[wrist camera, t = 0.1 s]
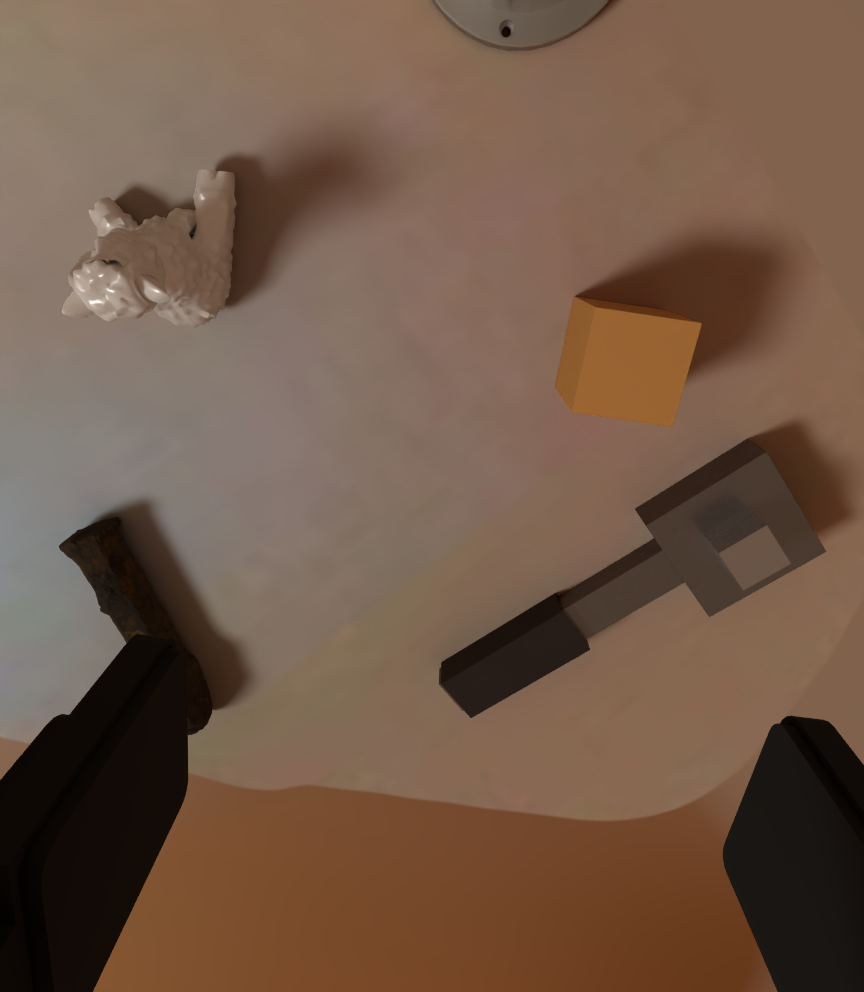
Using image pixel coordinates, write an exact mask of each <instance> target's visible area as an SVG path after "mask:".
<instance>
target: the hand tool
mask: <svg viewBox="0 0 864 992" xmlns="http://www.w3.org/2000/svg"><path fill="white" fill-rule="evenodd" d="M120 523H121V520H120V519H119V518H118V517H115V518H112V519H109V520H104V521H100V522H98V523H95V524H92V525H90V526H87V527H85V528H84V529H81V530H77V531H76V533H74V534H73V535H71V536H70V537H69V538H68V539H67V540H65V541H64V542H63V543H61V544H60V546H59V548H60V550H61V551H62V552H64V553H65V554H66V556H68V557H69V558H70V559H73V561H74V562H75V563H76V564H77V565H78V566H79V567H80V569H81V570H82V572H83V574H84V575H85V577H86V579H87V580H88V582H89V583H90V584H91V586H92V588H93V589H94V591H95V593H96V596H97V599H98V604H99V605H100V607H101V608H100V611H101V612H103V613H105V614H107V615H109V616H110V617H111V619H112V621H113V622H114V624H115V625H116V627H117V628H118V630H119V631H120V633H121V635H122V636H123V638H124V640H125V641H126V643H127V642H128V641H129V640H130V639H131V638H132V637H133V636H134V635H136V634H143V635H151V636H158V637H166V638H172V639H174V640H175V643H176V648H178V649H184V648H183V646H182V644H181V642H180V641H179V638H178V636H177V634H176V633H175V631H174V629H173V627H172V625H171V623H170V620H169V618H168V616H167V614H166V613H165V612H164V610H163V609H162V608H161V606H160V604H159V602H158V601H157V599H156V597H155V595H154V593H153V591H152V590H151V587H150V585H149V583H148V581H147V580H146V578H145V576H144V573H143V571H142V570H141V569H140V568H139V566H138V565H137V563H136V562H135V560H134V557H133V556H132V554H131V553H130V551H129V550H128V548H127V546H126V545H125V543H124V541H123V539H122V537H121V535H120V531H119V526H120ZM184 650H185V649H184ZM186 655H187V724H188V735H190V734H191V735H192V734H195V733H197V732H198V731H199V730H201V729H203V728H204V727H205V726H206V725H207V723H208V721H209V719H210V716H211V714H212V703H211V699H210V695H209V691H208V687H207V684H206V681H205V680H204V678H203V675H202V672H201V669H200V666H199V663H198V661H197V659H196V657H195V656H193V655H188V654H187V653H186Z"/></svg>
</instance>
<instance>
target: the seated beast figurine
mask: <svg viewBox="0 0 864 992" xmlns="http://www.w3.org/2000/svg"><path fill="white" fill-rule="evenodd" d="M234 192H235V177H234V173H233V172H227V171H218V172H217V171H213V170H199V172H198V175H197V179H196V186H195V193H194V194H193V199H194V205H195V208H196V209H195V210H191V209H181V208H175V209H174V210H173V211H171V212H169V214H168V216H167V218H165V217H159V216H158V215H155V216H153V217H152V218H151V219H144V220H143V223H142V224H140V225H139V226H138V224H137V222H136V221H135V220H133V219H132V216H131V215H130V214H126V213H124V212H123V211H122V209H121V208H120V207H119V206H118V205H117V204H116V203H115V202H114V201H113V200H112V199H111V198H102V199H100V200H99V201H97V202H96V203H95V209H90V210H89V215H90V217H91V220H92V221H93V222H94V224H95V225H96V226H97V230H98V232H97V235H98V237H97V238H96V240H95V242H94V243H95V248H96V249H94V250H92V251H91V252H87V253H85V254H84V255H83V256H81V257H80V260H79V262H78V263H77V264H76V265H75V266H74V268H73V269H72V270H71V271H70V272H69V274H68V278H69V284H70V285H71V287H73V290H74V291H73V292H72V293H71V294H70V296H69V297H68V298H67V299H66V301H65V303H64V305H63V308H62V313H63V314H65V315H67V316H72V317H79V318H83V317H88V316H90V315H92V314H93V313H95V314H96V315H98V316H99V317H101V318H103V319H104V320H105V321H108V322H112V321H114V320H115V319H117V318H136V319H138V318H140V317H141V316H142V315H143V314H144V313H146V312H150V311H151V310H155V311H156V312H157V314H159V316H160V317H163V318H167V319H168V320H169V321H171V322H172V323H173V324H174V325H176V326H179V325H190V326H193V327H197V326H198V325H199V324H205V323H207V322H209V321H210V320H211V319H213V318H216V316H217V313H218V312H219V310H222V309H223V308H224V307H225V303H226V298H228V297H229V293H230V291H229V289H230V288H231V284H230V282H231V280H232V279H231V275H230V272H231V271H232V258H233V256H232V254H231V251H232V249H231V248H232V247H233V237H234V235H233V230H234V228H235V218H236V216H235V214H234V209H235V207H236V200H235V197H234ZM193 234H194V236H193V238H192V239H191V237H190V235H193Z"/></svg>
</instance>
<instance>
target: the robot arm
mask: <svg viewBox="0 0 864 992" xmlns="http://www.w3.org/2000/svg"><path fill="white" fill-rule="evenodd" d="M432 1H433V3H434V5H435V6H436V7H437V9H438V10H439V11H440V12H441V13H442V14H443V15H444V17H445V18H446V19H447V20H448V21H449V22H450V23H451V24H452V25H453V26H454V27H456V28H457V29H458V30H460V31H461V32H462V33H464V34H465V35H466V36H468V37H469V38H471V39H473V40H476V41H478V42H480V43H482V44H484V45H486V46H489V47H494V48H498V49H503V50H508V51H524V50H533V49H538V48H542V47H546V46H550V45H552V44H555V43H557V42H559V41H561V40H563V39H565V38H567V37H569V36H571V35H573V34H574V33H575V32H577V31H578V30H579V29H581V28H582V27H583V26H585V25H586V24H588V23H589V22H590V21H591V20H592V19H593V18H594V17H595V16H596V15H597V13H598V12H599V11H600V10H601V9H602V8H603V7H604V6H605V5H606V4H607V2H608V1H609V0H432ZM505 28H507V29H509V31H510V36H509V37H503V36H502V34H501V31H502V30H503V29H505ZM187 785H188V724H187V655H186V651H185V650H184V649H178V648H176V643H175V640H174V639H172V638H166V637H158V636H151V635H143V634H136V635H134V636H133V637H132V638H131V639H130V640H129V641H128V642H127V644H126V645H125V646H124V647H123V649H122V650H121V651H120V652H119V654H118V655H117V656H116V657H115V659H114V660H113V661H112V662H111V664H110V665H109V666H108V667H107V669H106V670H105V671H104V672H103V674H102V675H101V676H100V677H99V678H98V680H97V681H96V682H95V683H94V685H93V686H92V687H91V688H90V690H89V691H88V692H87V693H86V695H85V696H84V697H83V698H82V700H81V701H80V702H79V703H78V705H77V706H76V707H75V708H74V710H73V711H72V712H71V713H70V715H65V714H61V715H58V716H56V717H54V718H53V719H52V720H51V721H50V722H49V723H48V724H47V725H46V726H45V727H44V728H43V730H42V731H41V732H40V733H39V734H38V736H37V737H36V738H35V739H34V740H33V742H32V743H31V744H30V745H29V747H28V748H27V749H26V750H25V751H24V753H23V754H22V755H21V756H20V757H19V758H18V760H17V761H16V762H15V763H14V764H13V766H12V767H11V768H10V769H9V770H8V772H7V773H6V774H5V775H4V776H3V778H2V779H1V780H0V992H93V990H94V988H95V986H96V984H97V982H98V980H99V977H100V975H101V973H102V971H103V969H104V967H105V965H106V963H107V961H108V959H109V957H110V954H111V952H112V950H113V948H114V946H115V944H116V942H117V940H118V938H119V936H120V933H121V932H122V929H123V927H124V925H125V923H126V921H127V919H128V917H129V915H130V913H131V911H132V909H133V906H134V904H135V902H136V900H137V898H138V896H139V894H140V892H141V890H142V888H143V885H144V883H145V881H146V879H147V877H148V875H149V873H150V871H151V869H152V867H153V865H154V862H155V860H156V858H157V856H158V854H159V852H160V850H161V848H162V846H163V844H164V842H165V839H166V837H167V835H168V833H169V831H170V829H171V827H172V825H173V823H174V820H175V819H176V816H177V814H178V812H179V810H180V808H181V806H182V803H183V801H184V798H185V795H186V790H187ZM723 860H724V866H725V869H726V872H727V875H728V877H729V879H730V882H731V884H732V886H733V888H734V891H735V893H736V896H737V898H738V900H739V903H740V905H741V907H742V910H743V912H744V914H745V917H746V919H747V921H748V924H749V926H750V928H751V931H752V933H753V935H754V938H755V940H756V942H757V945H758V947H759V949H760V951H761V954H762V956H763V958H764V961H765V963H766V966H767V968H768V970H769V972H770V975H771V977H772V980H773V982H774V984H775V987H776V989H777V991H778V992H864V765H863V764H862V762H861V761H860V760H859V758H858V757H857V756H856V755H855V753H854V752H853V751H852V750H851V748H850V747H849V745H848V744H847V743H846V742H845V740H844V739H843V738H842V737H841V735H840V734H839V733H838V731H837V730H836V729H835V727H834V726H833V725H832V724H830V723H829V722H828V721H825V720H820V719H812V718H803V717H796V716H787V717H785V718H784V719H783V720H782V721H781V723H780V724H774V725H773V726H772V727H771V729H770V731H769V733H768V736H767V738H766V741H765V743H764V746H763V748H762V751H761V753H760V756H759V759H758V761H757V763H756V766H755V768H754V771H753V774H752V776H751V778H750V781H749V783H748V786H747V788H746V791H745V793H744V796H743V799H742V801H741V804H740V806H739V809H738V812H737V814H736V816H735V819H734V821H733V824H732V826H731V829H730V831H729V834H728V836H727V839H726V841H725V844H724V848H723Z"/></svg>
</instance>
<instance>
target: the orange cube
mask: <svg viewBox="0 0 864 992" xmlns="http://www.w3.org/2000/svg"><path fill="white" fill-rule="evenodd" d="M701 325H702V323H700V322H697V321H694V320H692V319H689V318H686V317H683V316H680V315H678V314H675V313H672V312H669V311H666V310H662V309H655V308H649V307H642V306H635V305H629V304H622V303H615V302H609V301H602V300H596V299H589V298H582V297H576V296H574V299H573V303H572V308H571V313H570V317H569V322H568V327H567V332H566V336H565V341H564V346H563V350H562V355H561V360H560V365H559V369H558V374H557V379H556V383H555V388H556V389H557V391H558V392H559V394H560V395H561V397H562V398H563V400H564V401H565V403H566V404H567V406H568V407H569V409H570V410H571V412H573V413H580V414H587V415H594V416H601V417H608V418H614V419H621V420H628V421H635V422H642V423H649V424H655V425H662V426H669V427H673V423H674V420H675V416H676V413H677V409H678V406H679V402H680V399H681V395H682V392H683V388H684V385H685V381H686V378H687V374H688V371H689V367H690V364H691V360H692V357H693V353H694V350H695V346H696V343H697V339H698V336H699V332H700V329H701Z"/></svg>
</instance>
